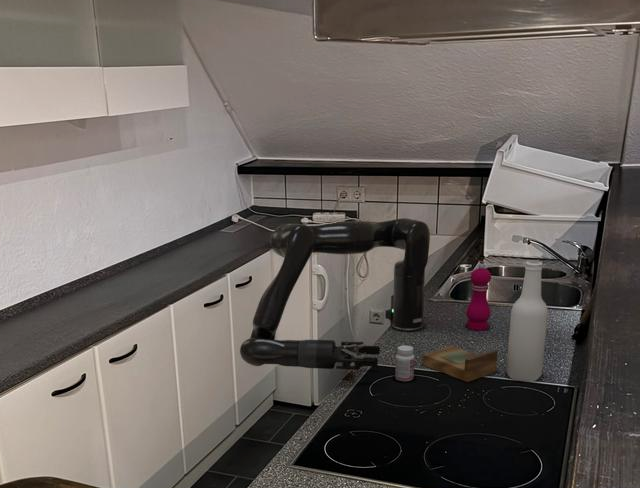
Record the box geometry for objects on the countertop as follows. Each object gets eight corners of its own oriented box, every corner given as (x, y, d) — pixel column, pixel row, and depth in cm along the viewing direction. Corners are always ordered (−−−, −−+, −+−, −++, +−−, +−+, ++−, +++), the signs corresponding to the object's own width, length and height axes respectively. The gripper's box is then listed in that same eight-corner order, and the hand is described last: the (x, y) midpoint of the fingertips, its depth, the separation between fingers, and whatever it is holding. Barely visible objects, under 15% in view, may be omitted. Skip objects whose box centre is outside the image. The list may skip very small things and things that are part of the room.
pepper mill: (485, 332, 230) (490, 267, 223) (462, 328, 234) (466, 264, 226) (492, 325, 236) (497, 262, 228) (469, 322, 239) (473, 259, 232)
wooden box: (422, 364, 207) (423, 343, 205) (450, 355, 213) (451, 335, 210) (467, 382, 194) (468, 360, 192) (496, 372, 200) (497, 350, 198)
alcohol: (541, 383, 192) (553, 267, 181) (505, 380, 195) (515, 265, 184) (541, 370, 200) (552, 258, 189) (506, 368, 203) (515, 257, 192)
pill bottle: (413, 382, 196) (414, 351, 192) (394, 381, 196) (395, 350, 193) (414, 375, 200) (415, 345, 197) (395, 374, 201) (396, 344, 198)
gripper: (312, 350, 192) (377, 352, 189) (319, 331, 205) (380, 333, 202) (313, 377, 195) (377, 379, 192) (320, 357, 208) (380, 359, 205)
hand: (378, 356), depth 197 cm, fingers open, 8 cm apart
